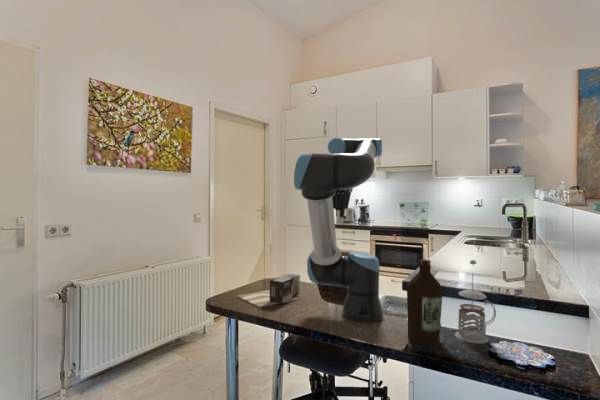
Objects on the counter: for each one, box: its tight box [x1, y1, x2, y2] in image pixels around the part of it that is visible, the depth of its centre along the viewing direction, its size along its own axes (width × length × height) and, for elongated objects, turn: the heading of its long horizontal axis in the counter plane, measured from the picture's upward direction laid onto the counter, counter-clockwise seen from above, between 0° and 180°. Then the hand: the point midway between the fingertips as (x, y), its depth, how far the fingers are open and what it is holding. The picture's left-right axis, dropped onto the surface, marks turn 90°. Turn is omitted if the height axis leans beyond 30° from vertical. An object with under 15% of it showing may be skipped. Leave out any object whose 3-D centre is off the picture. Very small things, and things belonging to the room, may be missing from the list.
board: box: [236, 289, 300, 308], centre depth 149 cm, size 18×20×1 cm
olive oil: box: [406, 259, 443, 346], centre depth 109 cm, size 11×11×25 cm
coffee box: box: [269, 273, 301, 304], centre depth 148 cm, size 9×6×16 cm
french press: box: [454, 259, 497, 344], centre depth 111 cm, size 10×12×25 cm
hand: (339, 224), depth 157 cm, fingers closed
